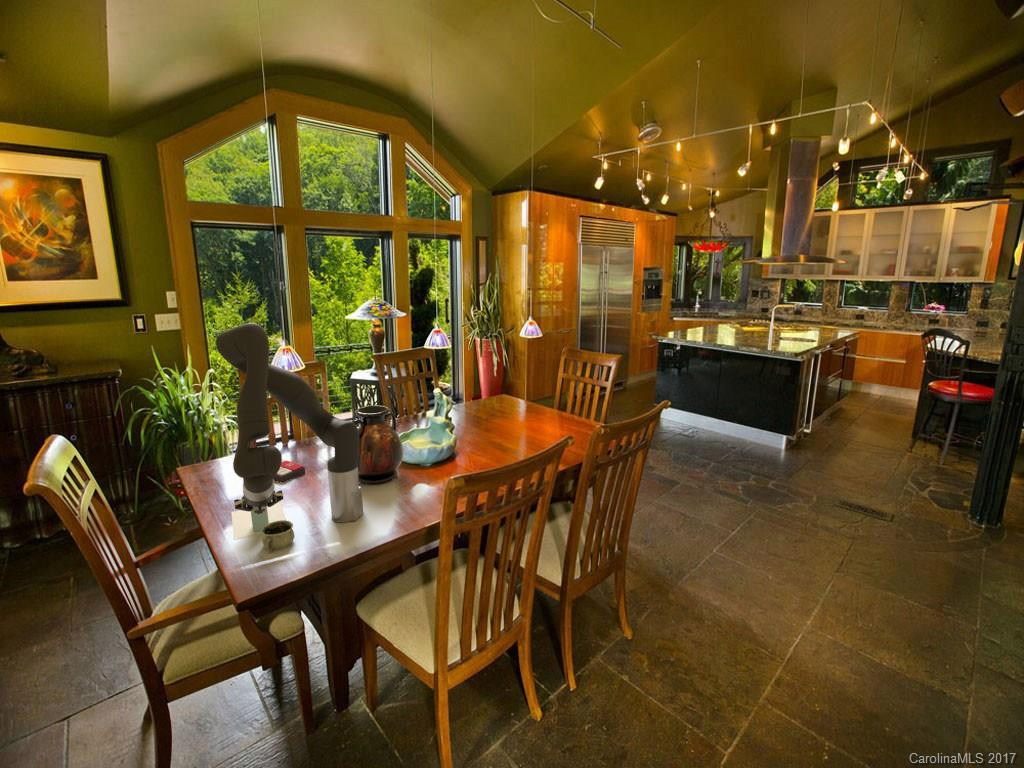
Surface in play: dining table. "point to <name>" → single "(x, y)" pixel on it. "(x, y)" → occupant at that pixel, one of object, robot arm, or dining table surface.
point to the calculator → (288, 471)
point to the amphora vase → (377, 446)
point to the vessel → (277, 535)
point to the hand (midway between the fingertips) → (259, 510)
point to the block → (259, 520)
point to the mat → (244, 520)
